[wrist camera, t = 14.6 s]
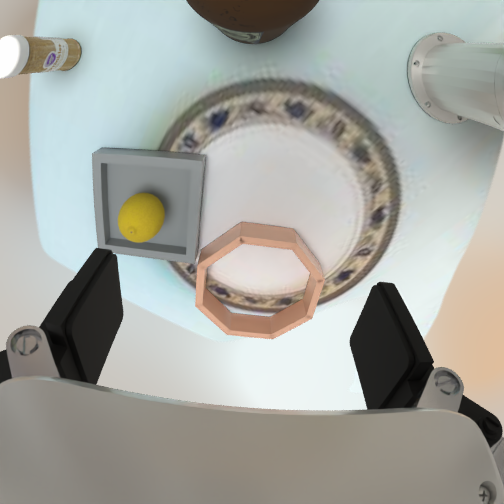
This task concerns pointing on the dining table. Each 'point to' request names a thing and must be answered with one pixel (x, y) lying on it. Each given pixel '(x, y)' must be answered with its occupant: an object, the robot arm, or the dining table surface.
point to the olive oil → (252, 17)
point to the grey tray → (158, 184)
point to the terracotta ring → (253, 323)
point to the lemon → (141, 217)
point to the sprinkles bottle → (36, 55)
